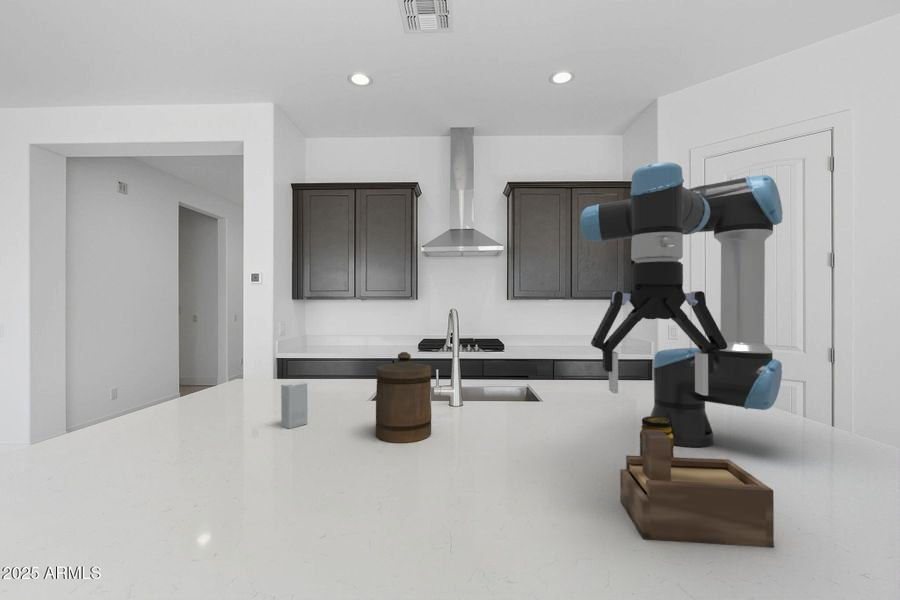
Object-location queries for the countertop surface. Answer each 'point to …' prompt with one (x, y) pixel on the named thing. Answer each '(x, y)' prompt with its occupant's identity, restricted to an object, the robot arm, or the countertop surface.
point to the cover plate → (689, 475)
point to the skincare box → (294, 404)
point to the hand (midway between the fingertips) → (656, 392)
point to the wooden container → (403, 401)
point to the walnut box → (700, 506)
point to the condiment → (656, 428)
